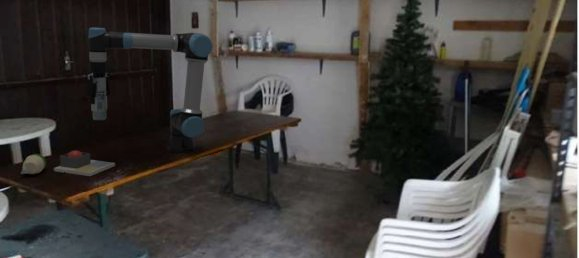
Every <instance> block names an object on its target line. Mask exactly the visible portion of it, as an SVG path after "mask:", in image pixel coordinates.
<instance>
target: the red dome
mask: <svg viewBox="0 0 579 258" xmlns="http://www.w3.org/2000/svg"><path fill="white" fill-rule="evenodd" d="M68 153H69V154H68ZM68 153H67V154H68V156H67V157H73V158H78V157H80V156H83V155H82V153H83V152H82V153H81V151H79V150H71V151H70V152H68Z"/></svg>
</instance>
